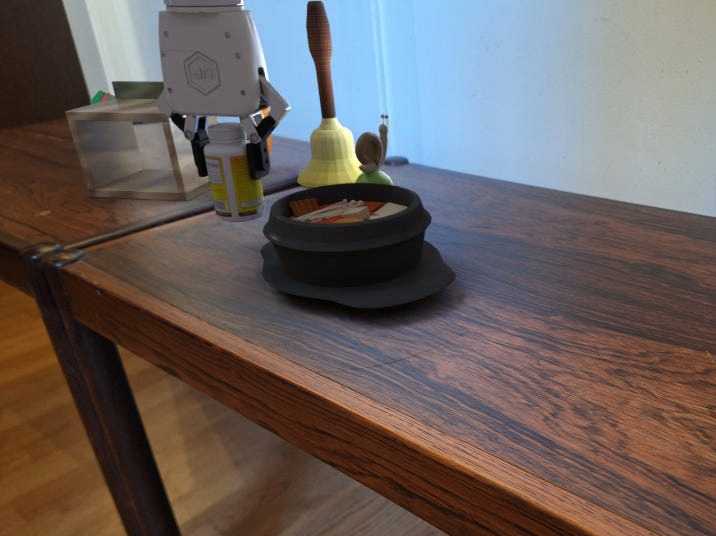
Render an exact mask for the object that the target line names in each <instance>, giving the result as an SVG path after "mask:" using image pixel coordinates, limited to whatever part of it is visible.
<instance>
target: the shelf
mask: <svg viewBox="0 0 716 536" xmlns="http://www.w3.org/2000/svg"><path fill="white" fill-rule="evenodd" d="M111 86H112V90H113V93H114V95H115V97H116V99H112V100H108V101H104V102H100V103H96V104H92V105H91V104H89V105H84V106H81V107H76V108H73V109H69V110H66V111H64V113H65V116H66V120H67V123H68V126H69V130H70V133H71V137H72V141H73V143H74V147H75V150H76V154H77V156H78V160H79V163H80V168H81V171H82V174H83V177H84V181H85V184H86V188H87V190H88V194H89V197H90V198H105V199H106V198H107V199H108V198H109V199H128V200H129V199H133V200H153V201H180V202H188V201H190V200H192V199H193V198H196V197H198V196H200V195H201V194H204V193H205V192H207V191H209V190H211V186H210V181H209V176H206V177H199V175H198V170H197V167H196V165H195V162H194V157H193V152H192V147H191V141H190V140H187V139H186V138H185V137H184V133H183V132H182V131H181V130H180V129H179V128H178V127H177V126H176V125H175V124H174V123H173V122H172V120H171V118H169V117H168V116H167V115H165V114H164V113H163V112H162V111H161V110H160V109H159V108H158V107H157V105H156V102H157V100H158V98H159V96H160V95H161V93H162V91H163V89H164V88H165V87H164V82H163V80H162V81H161V80H160V81H158V80H156V81H155V80H153V81H152V80H148V81H147V80H144V81H143V80H113V81H111ZM133 122H138V123H141V122H143V123H161V125H162V129H163V133H164V134H163V135H164V138H165V142H166V146H167V150H168V151H167V152H168V155H169V160H170V164H171V168H172V169H155V168H154V169H152V168H151V169H149V168H144V165H143V160H142V156H141V152H140V149H139V145H138V141H137V137H136V133H135V129H134V124H133ZM215 123H219V122H218V116H209V120H208V126H209V125H211V124H215ZM207 135H208V130H207Z"/></svg>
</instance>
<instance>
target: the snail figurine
mask: <svg viewBox="0 0 716 536" xmlns="http://www.w3.org/2000/svg"><path fill="white" fill-rule="evenodd" d="M389 117H390V116H389V115H388V114H383V113H381V115H380V118H381V119H382V123H381V124H380V125H379V127H378V133H379V135H378V134H377V133H375V132H373V131H365V132H363V133H361V134H360V136H359V137H358V138H357V140H356V143H355V145H354V148H355V154H356V157H357V159H358V161H359V162H360V163H361V164H362V165H360V166H359V169H360V170H361V171H362V172H363V173H362V174H360V175H359V177H358V178H357V179H356V181H355V183H378V184H388V185H394V186H395V184H394V182H393V180H392V179H391V177H390V176H389V175H388V174H387V173H386V172H384V171H382V170H379V169H380V168H381V167H382V166H383V165H384V163H385V161H386V158H387V154H388V149H389V148H388V147H389V137H388V136H389V131H390V129H389V126H388V125H389V124H388V123H389V122H388V121H389V120H388V119H389ZM384 119H386V123H385V121H384Z"/></svg>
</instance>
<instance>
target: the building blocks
mask: <svg viewBox="0 0 716 536" xmlns="http://www.w3.org/2000/svg"><path fill="white" fill-rule="evenodd" d="M112 99H116V97H115V94H111V93H110V92H105V91H104V90H102V89H99V90H98V91H97V92H96V93H95V94H94V95H93V97H92V98H91V100H90V105H92V104H96V103H100V102H104V101H108V100H112ZM140 123H141V124H143V123H144V122H140Z"/></svg>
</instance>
